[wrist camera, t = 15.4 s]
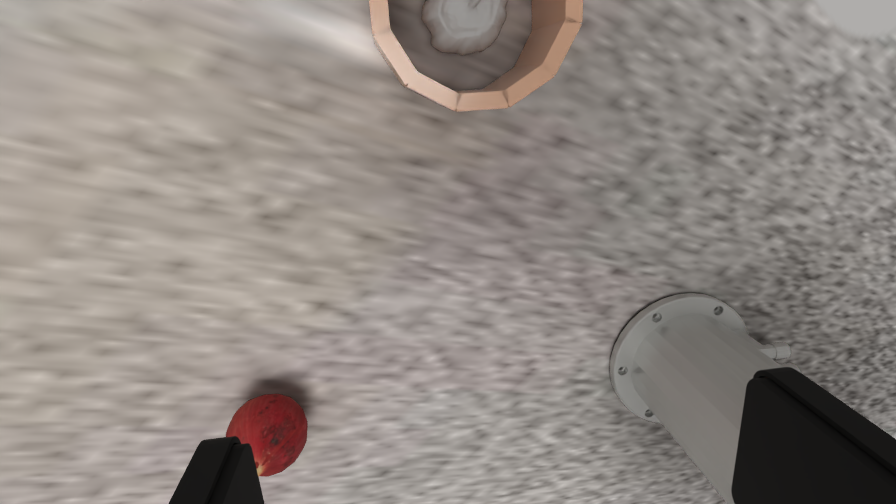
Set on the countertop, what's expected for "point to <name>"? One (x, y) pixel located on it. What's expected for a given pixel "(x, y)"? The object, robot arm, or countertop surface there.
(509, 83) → the bowl
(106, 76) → the countertop surface
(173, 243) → the countertop surface
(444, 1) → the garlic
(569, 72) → the countertop surface
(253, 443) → the onion
